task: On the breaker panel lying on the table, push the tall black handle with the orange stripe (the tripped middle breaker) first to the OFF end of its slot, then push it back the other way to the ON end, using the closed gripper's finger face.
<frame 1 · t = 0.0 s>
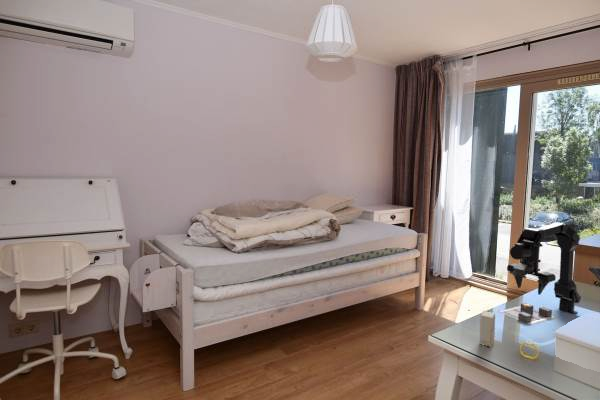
hand: (529, 291, 164), 15 cm above the table, fingers open, 9 cm apart
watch: (528, 358, 137), on the table
skincare box: (486, 343, 147), on the table
tripped breaker: (526, 309, 171), point 4 cm above the table, slide at 0.0 cm
panel: (526, 316, 172), on the table
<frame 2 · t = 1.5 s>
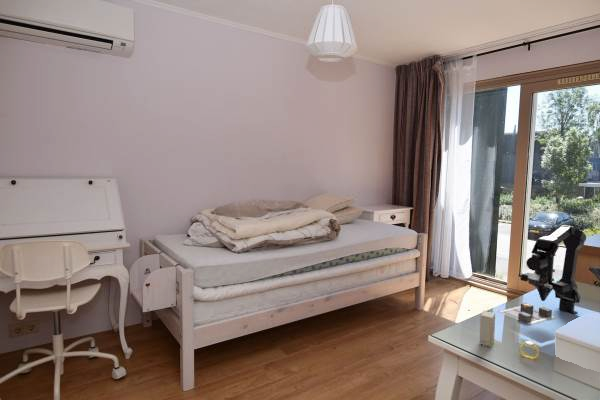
hand: (542, 300, 164), 10 cm above the table, fingers closed
nothing on the table moved.
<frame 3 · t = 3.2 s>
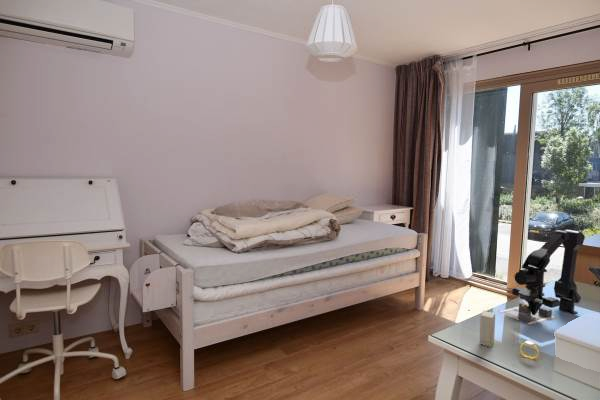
hand: (533, 314, 168), 2 cm above the table, fingers closed
tripped breaker: (525, 308, 172), point 4 cm above the table, slide at -0.9 cm, touching gripper
everything else where it was.
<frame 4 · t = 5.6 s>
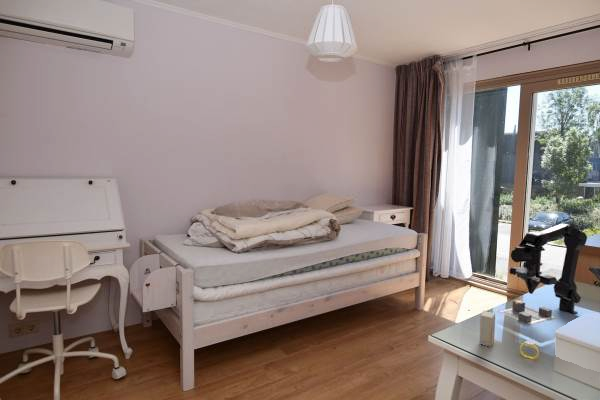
hand: (530, 293, 169), 12 cm above the table, fingers closed
tripped breaker: (518, 306, 175), point 4 cm above the table, slide at -4.0 cm
everything else where it was.
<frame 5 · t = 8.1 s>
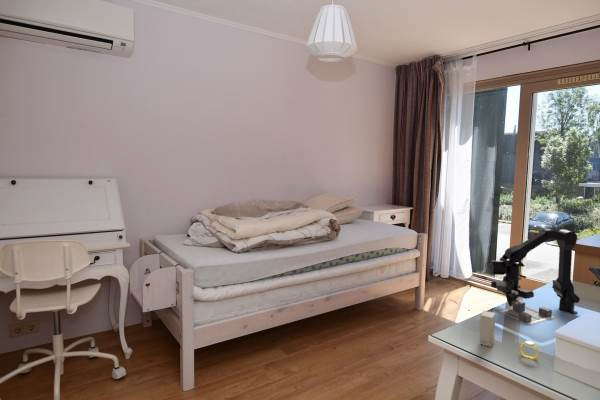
hand: (510, 305, 179), 2 cm above the table, fingers closed
tripped breaker: (518, 306, 175), point 4 cm above the table, slide at -4.0 cm, touching gripper
everything else where it was.
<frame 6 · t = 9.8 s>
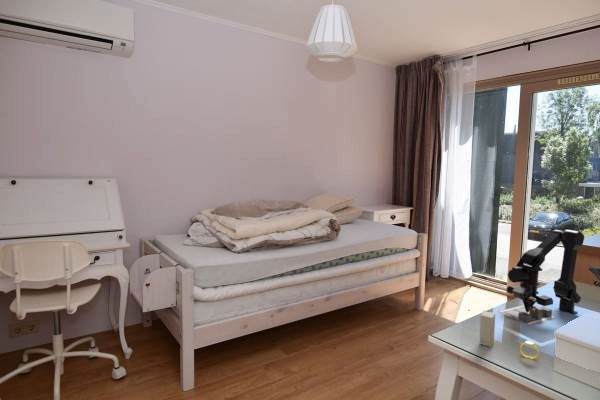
hand: (527, 312, 171), 2 cm above the table, fingers closed
tripped breaker: (535, 312, 167), point 4 cm above the table, slide at 4.3 cm, touching gripper
everything else where it was.
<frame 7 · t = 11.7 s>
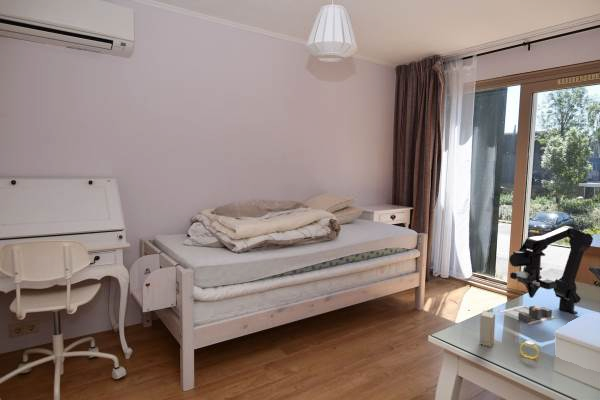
hand: (531, 297, 173), 9 cm above the table, fingers closed
tripped breaker: (535, 312, 167), point 4 cm above the table, slide at 4.0 cm
everything else where it was.
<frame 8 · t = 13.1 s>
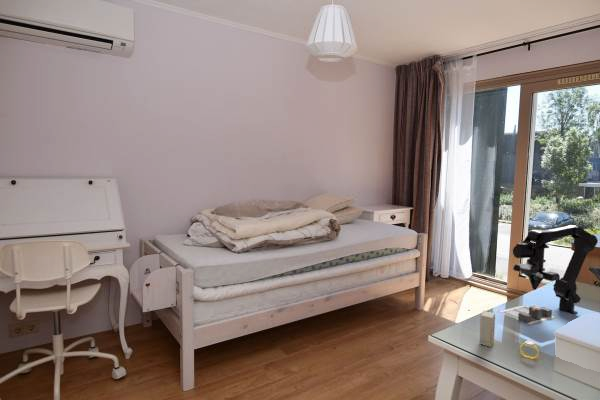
hand: (534, 289, 174), 12 cm above the table, fingers closed
nothing on the table moved.
at the end: tripped breaker slide at 4.0 cm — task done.
